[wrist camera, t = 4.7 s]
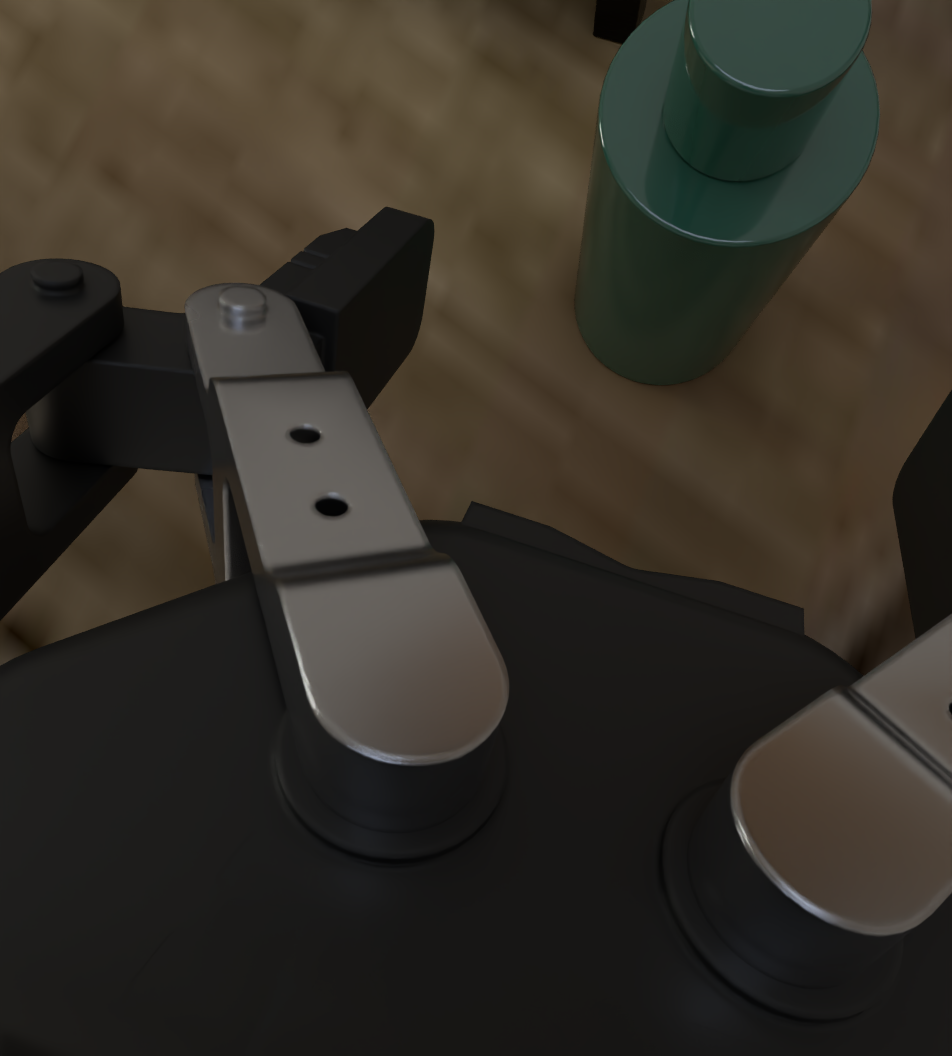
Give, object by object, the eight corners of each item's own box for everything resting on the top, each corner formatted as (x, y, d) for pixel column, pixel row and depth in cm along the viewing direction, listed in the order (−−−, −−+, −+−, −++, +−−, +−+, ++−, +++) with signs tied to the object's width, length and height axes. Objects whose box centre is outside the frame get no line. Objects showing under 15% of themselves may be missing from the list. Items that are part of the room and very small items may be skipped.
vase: (551, 357, 23) (568, 118, 12) (603, 199, 24) (668, -179, 12) (719, 407, 23) (900, 208, 12) (770, 246, 23) (995, -103, 12)
